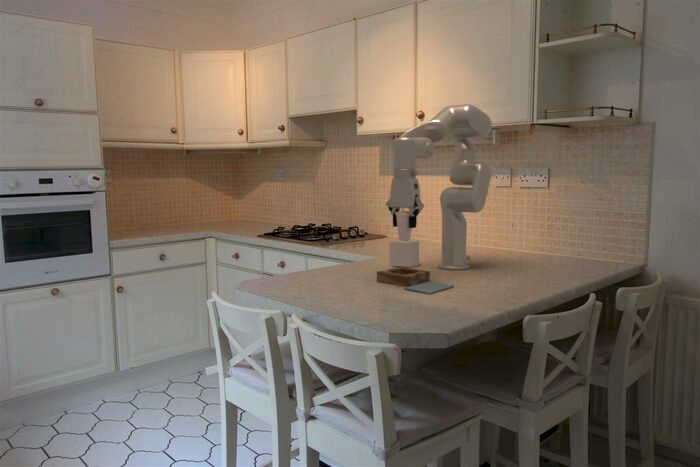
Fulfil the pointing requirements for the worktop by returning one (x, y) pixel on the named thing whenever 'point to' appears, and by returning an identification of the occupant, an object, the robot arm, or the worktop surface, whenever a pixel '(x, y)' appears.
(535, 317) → the worktop surface
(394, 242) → the toilet tissue
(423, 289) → the mat
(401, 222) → the smoothie
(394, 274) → the wooden square frame
